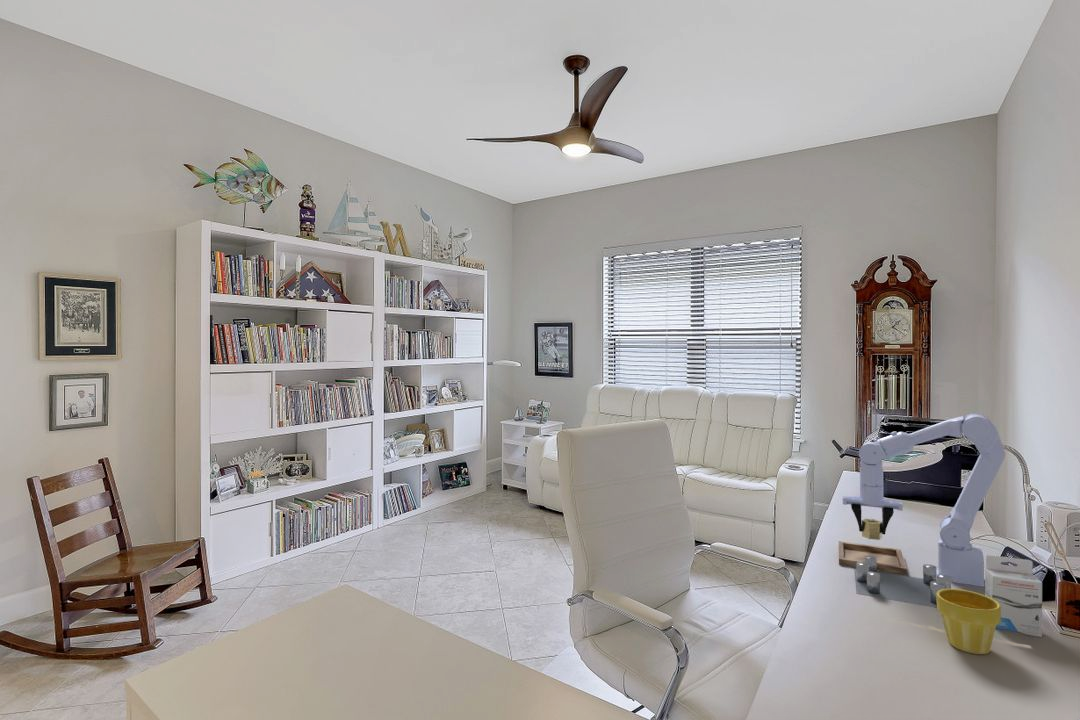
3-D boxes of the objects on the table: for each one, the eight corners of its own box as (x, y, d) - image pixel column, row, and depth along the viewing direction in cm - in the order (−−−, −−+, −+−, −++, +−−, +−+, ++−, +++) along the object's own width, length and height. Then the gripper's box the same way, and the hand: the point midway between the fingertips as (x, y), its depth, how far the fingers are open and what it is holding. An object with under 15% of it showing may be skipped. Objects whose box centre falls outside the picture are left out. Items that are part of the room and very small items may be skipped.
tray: (900, 556, 159) (900, 549, 159) (907, 576, 145) (906, 568, 145) (838, 547, 166) (838, 541, 166) (838, 566, 152) (838, 558, 152)
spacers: (945, 584, 139) (945, 566, 139) (957, 608, 126) (956, 589, 126) (855, 570, 148) (855, 553, 148) (857, 591, 135) (857, 573, 135)
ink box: (992, 629, 117) (991, 562, 117) (984, 619, 121) (984, 554, 121) (1043, 638, 113) (1042, 568, 113) (1033, 627, 118) (1033, 559, 118)
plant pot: (938, 627, 118) (938, 583, 118) (1000, 643, 111) (1000, 596, 111) (935, 648, 110) (934, 600, 110) (1001, 666, 103) (1001, 615, 103)
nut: (883, 536, 154) (883, 520, 154) (878, 540, 151) (878, 524, 151) (865, 532, 158) (865, 517, 158) (860, 537, 154) (860, 521, 154)
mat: (945, 583, 140) (945, 582, 140) (960, 613, 124) (960, 611, 124) (854, 569, 150) (854, 567, 150) (856, 595, 134) (856, 593, 134)
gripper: (900, 484, 154) (900, 531, 154) (842, 479, 161) (842, 524, 161) (903, 489, 148) (903, 539, 148) (842, 484, 155) (843, 531, 155)
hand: (872, 531), depth 154 cm, fingers closed on nut, 5 cm apart
